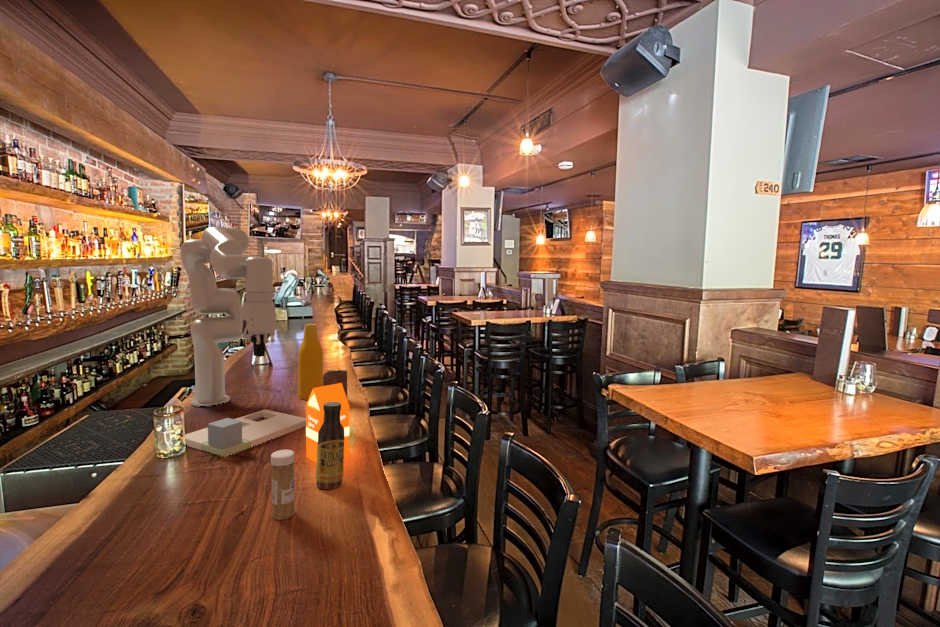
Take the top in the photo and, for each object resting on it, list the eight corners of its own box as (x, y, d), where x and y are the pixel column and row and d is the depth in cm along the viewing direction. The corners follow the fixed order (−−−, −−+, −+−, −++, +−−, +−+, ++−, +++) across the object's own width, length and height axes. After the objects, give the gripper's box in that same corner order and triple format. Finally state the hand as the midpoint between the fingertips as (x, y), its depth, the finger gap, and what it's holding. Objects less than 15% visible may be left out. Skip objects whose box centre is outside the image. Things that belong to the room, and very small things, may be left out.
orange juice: (349, 456, 127) (349, 385, 125) (320, 465, 121) (320, 391, 119) (334, 448, 133) (334, 380, 131) (305, 456, 126) (305, 385, 124)
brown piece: (340, 439, 139) (340, 374, 137) (318, 437, 141) (317, 372, 139) (351, 431, 147) (352, 369, 145) (330, 428, 148) (330, 367, 146)
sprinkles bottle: (293, 519, 95) (292, 456, 94) (269, 521, 94) (268, 458, 93) (296, 508, 100) (295, 448, 98) (273, 510, 99) (272, 449, 97)
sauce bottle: (318, 493, 107) (318, 409, 105) (314, 481, 112) (313, 401, 110) (347, 487, 110) (347, 405, 108) (341, 476, 115) (341, 398, 113)
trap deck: (178, 443, 133) (178, 436, 133) (265, 414, 160) (265, 409, 159) (225, 457, 124) (225, 450, 124) (308, 424, 151) (308, 419, 151)
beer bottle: (328, 396, 184) (328, 324, 181) (308, 401, 176) (308, 326, 173) (312, 392, 189) (312, 322, 186) (293, 397, 181) (292, 324, 178)
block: (208, 444, 128) (207, 423, 127) (228, 438, 133) (227, 417, 132) (222, 449, 125) (222, 427, 124) (242, 441, 130) (241, 421, 130)
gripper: (271, 295, 150) (270, 350, 153) (228, 297, 137) (229, 358, 140) (287, 297, 147) (287, 353, 149) (245, 300, 134) (246, 361, 136)
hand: (259, 355), depth 144 cm, fingers closed
